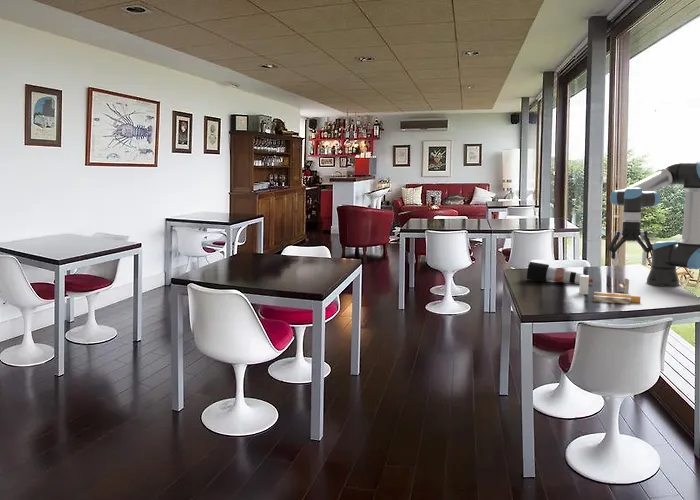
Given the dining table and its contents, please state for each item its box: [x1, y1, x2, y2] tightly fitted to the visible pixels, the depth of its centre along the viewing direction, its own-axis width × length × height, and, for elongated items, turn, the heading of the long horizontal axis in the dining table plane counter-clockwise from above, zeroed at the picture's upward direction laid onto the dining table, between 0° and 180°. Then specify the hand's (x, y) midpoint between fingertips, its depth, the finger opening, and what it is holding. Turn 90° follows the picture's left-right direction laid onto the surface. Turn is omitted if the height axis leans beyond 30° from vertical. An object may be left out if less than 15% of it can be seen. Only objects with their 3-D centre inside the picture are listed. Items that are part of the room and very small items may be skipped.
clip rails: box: [593, 291, 632, 305], centre depth 276 cm, size 16×10×2 cm, turn 66°
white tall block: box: [578, 274, 590, 295], centre depth 291 cm, size 4×4×9 cm
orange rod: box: [603, 294, 641, 304], centre depth 274 cm, size 16×3×3 cm
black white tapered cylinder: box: [526, 261, 594, 285], centre depth 317 cm, size 10×34×10 cm
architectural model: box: [618, 277, 630, 294], centre depth 292 cm, size 3×7×7 cm, turn 163°
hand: (629, 265), depth 274 cm, fingers open, 13 cm apart
